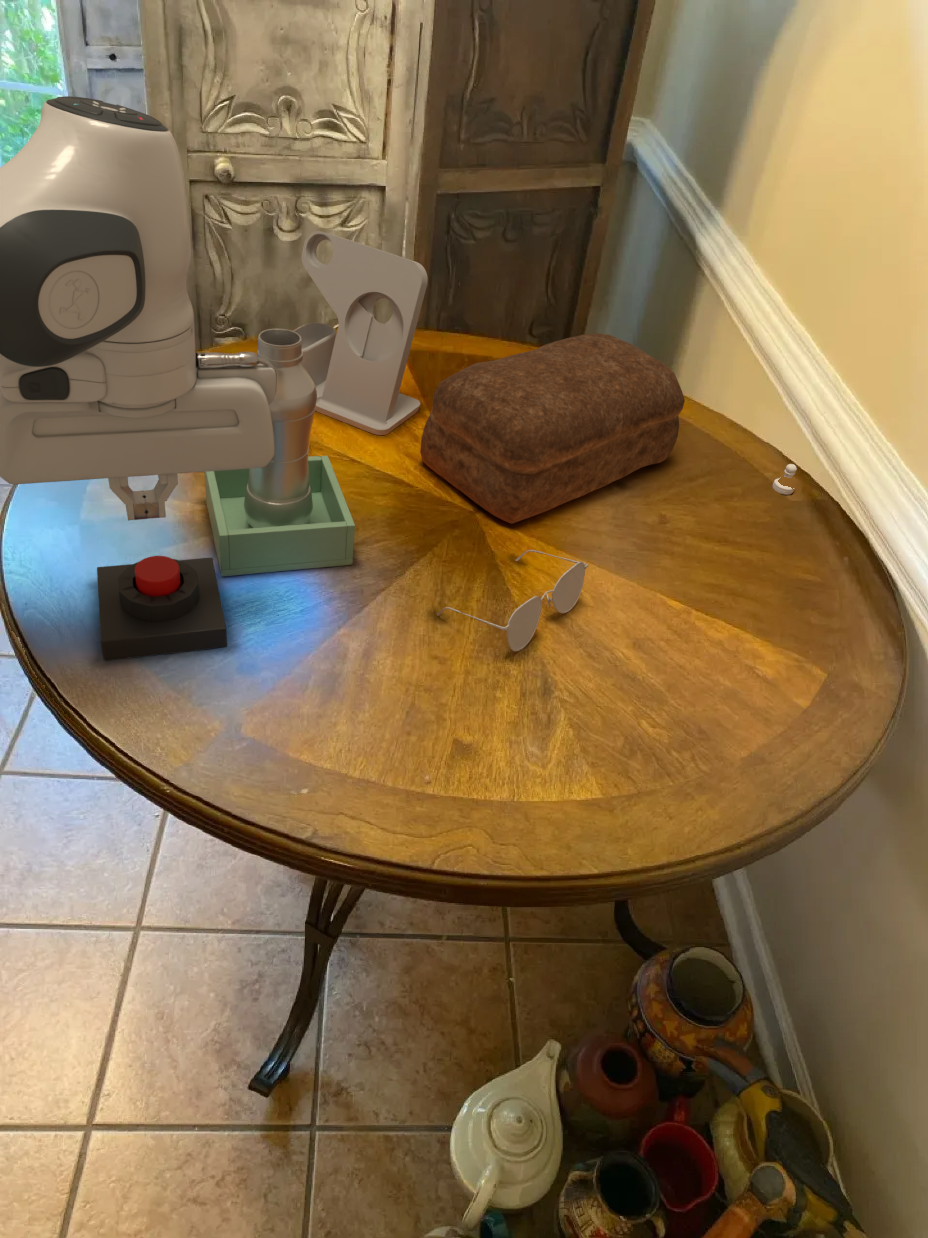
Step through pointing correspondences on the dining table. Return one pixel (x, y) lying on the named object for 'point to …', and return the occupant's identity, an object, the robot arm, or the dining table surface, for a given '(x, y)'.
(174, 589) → the button
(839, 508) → the dining table surface
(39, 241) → the robot arm
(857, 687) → the dining table surface
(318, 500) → the tray
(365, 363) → the phone holder
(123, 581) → the block
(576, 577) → the sunglasses
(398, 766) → the dining table surface
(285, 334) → the metal bottle
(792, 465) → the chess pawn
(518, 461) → the bread
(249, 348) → the dining table surface
